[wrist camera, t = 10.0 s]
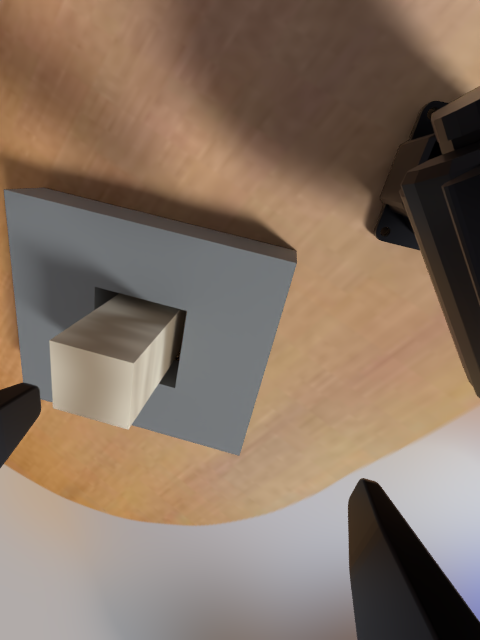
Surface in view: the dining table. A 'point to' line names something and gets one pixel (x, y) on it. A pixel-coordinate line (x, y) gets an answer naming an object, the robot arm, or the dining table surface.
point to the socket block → (156, 286)
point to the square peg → (114, 359)
